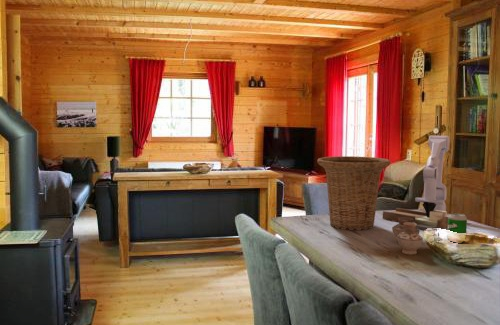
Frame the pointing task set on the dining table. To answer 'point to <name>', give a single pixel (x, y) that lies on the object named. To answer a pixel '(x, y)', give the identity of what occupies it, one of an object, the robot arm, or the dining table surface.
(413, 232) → the pottery
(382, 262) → the dining table surface
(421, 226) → the grey flat board
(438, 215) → the cream block
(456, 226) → the soda can
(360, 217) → the wicker basket
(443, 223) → the brown tray with rims
